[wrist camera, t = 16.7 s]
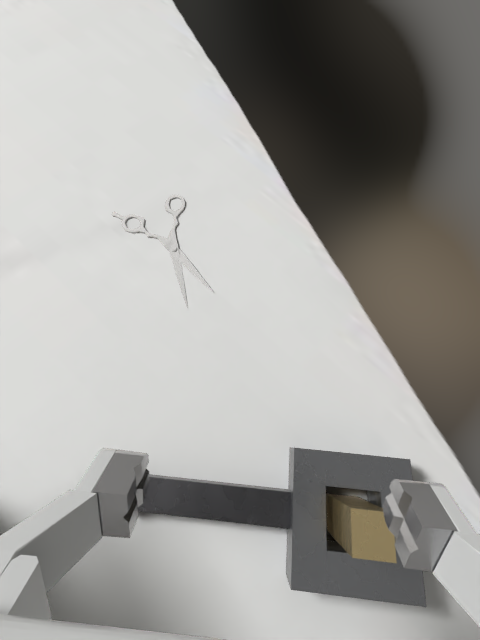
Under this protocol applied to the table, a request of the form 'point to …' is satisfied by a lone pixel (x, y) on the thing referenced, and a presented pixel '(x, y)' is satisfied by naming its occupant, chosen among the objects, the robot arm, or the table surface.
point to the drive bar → (360, 528)
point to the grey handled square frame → (304, 520)
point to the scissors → (168, 243)
